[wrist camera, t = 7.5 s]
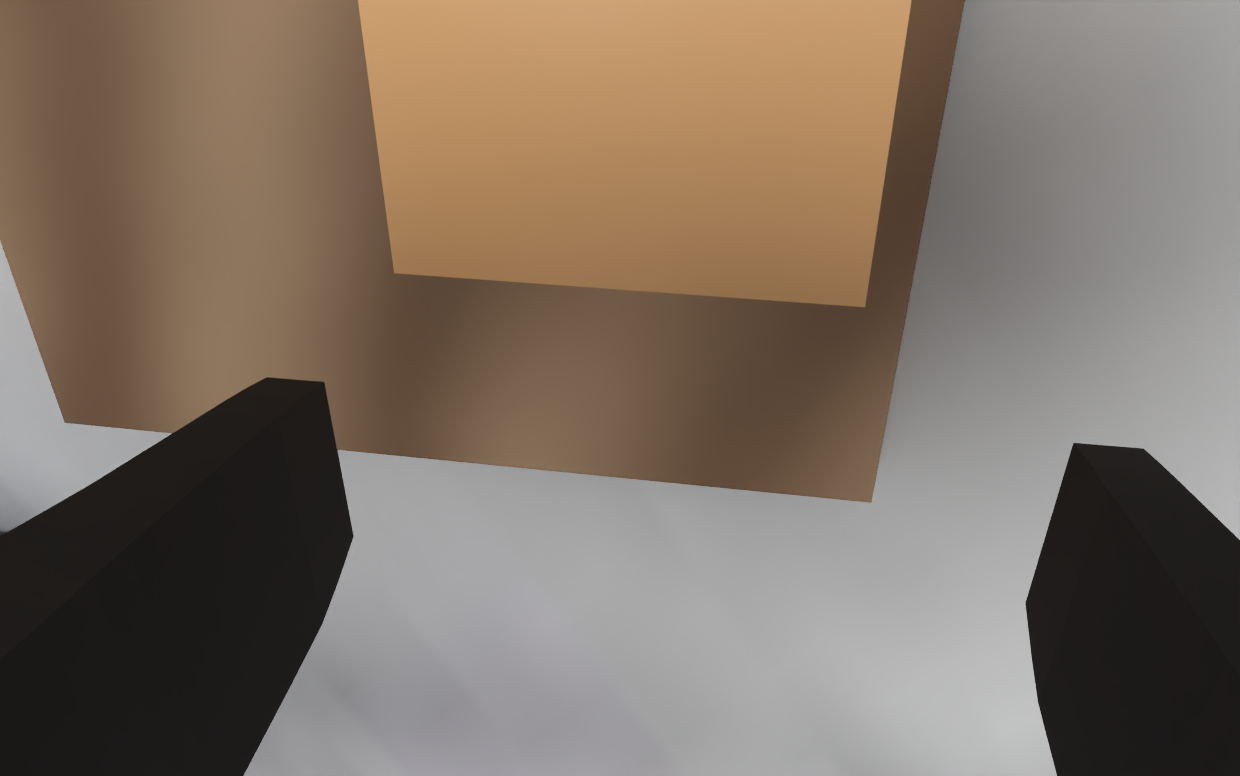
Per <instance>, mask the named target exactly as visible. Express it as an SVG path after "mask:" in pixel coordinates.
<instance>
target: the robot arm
mask: <svg viewBox="0 0 1240 776" xmlns="http://www.w3.org/2000/svg"><path fill="white" fill-rule="evenodd" d="M352 539H353V531H352V526H351V521H350V516H349V510H348V505H347V500H346V494H345V489H344V484H343V478H342V473H341V468H340V462H339V457H338V452H337V447H336V441H335V436H334V431H333V425H332V420H331V415H330V409H329V404H328V399H327V393H326V388H325V383H324V382H320V381H308V380H295V379H283V378H271V377H266V378H264V379H262V380H260V381H259V382H257V383H255V384H253V385H251V386H249V387H247V388H246V389H244V390H242V391H240V392H239V393H237V394H235V395H234V396H232V397H230V398H229V399H227V400H225V401H224V402H222V403H220V404H219V405H217V406H216V407H214V408H212V409H211V410H209V411H207V412H206V413H204V414H203V415H201V416H199V417H198V418H196V419H195V420H193V421H191V422H190V423H188V424H187V425H185V426H184V427H182V428H180V429H179V430H177V431H176V432H174V433H172V434H171V435H169V436H168V437H166V438H165V439H163V440H161V441H160V442H158V443H157V444H155V445H153V446H152V447H150V448H149V449H147V450H145V451H144V452H142V453H140V454H139V455H137V456H136V457H134V458H132V459H131V460H129V461H128V462H126V463H124V464H123V465H121V466H120V467H118V468H116V469H115V470H113V471H112V472H110V473H108V474H107V475H105V476H104V477H102V478H100V479H99V480H97V481H95V482H94V483H92V484H91V485H89V486H87V487H86V488H84V489H82V490H81V491H79V492H77V493H75V494H74V495H72V496H70V497H68V498H67V499H65V500H63V501H61V502H60V503H58V504H56V505H54V506H53V507H51V508H49V509H47V510H46V511H44V512H42V513H40V514H39V515H37V516H35V517H33V518H32V519H30V520H28V521H26V522H25V523H23V524H21V525H19V526H18V527H16V528H14V529H12V530H11V531H9V532H7V533H5V534H4V535H2V536H0V776H243V775H244V773H245V771H246V769H247V768H248V766H249V764H250V762H251V760H252V758H253V756H254V754H255V752H256V750H257V749H258V747H259V745H260V743H261V741H262V739H263V737H264V735H265V733H266V731H267V730H268V728H269V726H270V724H271V722H272V720H273V718H274V716H275V714H276V712H277V711H278V709H279V707H280V705H281V703H282V701H283V699H284V697H285V695H286V693H287V692H288V690H289V688H290V686H291V684H292V682H293V680H294V678H295V676H296V674H297V672H298V670H299V668H300V666H301V664H302V662H303V661H304V659H305V657H306V655H307V653H308V651H309V649H310V647H311V645H312V643H313V641H314V639H315V637H316V635H317V633H318V631H319V629H320V627H321V625H322V623H323V620H324V618H325V615H326V612H327V610H328V607H329V604H330V602H331V599H332V596H333V594H334V591H335V589H336V586H337V583H338V580H339V577H340V574H341V571H342V568H343V566H344V563H345V560H346V557H347V554H348V551H349V548H350V545H351V542H352ZM1026 611H1027V619H1028V628H1029V637H1030V645H1031V654H1032V662H1033V669H1034V676H1035V683H1036V690H1037V697H1038V703H1039V707H1040V711H1041V715H1042V719H1043V723H1044V727H1045V731H1046V735H1047V738H1048V742H1049V746H1050V750H1051V754H1052V757H1053V761H1054V765H1055V769H1056V773H1057V776H1240V540H1239V539H1238V538H1237V537H1236V536H1235V535H1234V534H1233V533H1232V532H1231V531H1230V530H1229V529H1228V528H1226V527H1225V526H1224V525H1223V524H1222V523H1221V522H1220V521H1219V520H1218V519H1217V518H1216V517H1215V516H1214V515H1213V514H1212V513H1211V512H1210V511H1209V510H1208V509H1207V508H1206V507H1205V506H1204V505H1203V504H1202V503H1201V502H1200V501H1199V500H1198V499H1197V498H1196V497H1195V496H1193V495H1192V494H1191V493H1190V492H1189V491H1188V490H1187V489H1186V488H1185V487H1184V486H1183V485H1182V484H1181V483H1180V482H1179V481H1178V480H1177V479H1176V478H1175V477H1174V476H1173V475H1172V474H1171V473H1170V472H1169V471H1167V470H1166V469H1165V468H1164V467H1163V466H1162V465H1161V464H1160V463H1159V462H1158V461H1157V460H1155V459H1154V458H1153V457H1152V456H1151V455H1150V454H1149V453H1148V452H1146V451H1145V450H1144V449H1140V448H1128V447H1116V446H1103V445H1091V444H1079V443H1073V447H1072V450H1071V453H1070V457H1069V460H1068V463H1067V467H1066V470H1065V473H1064V477H1063V480H1062V483H1061V487H1060V490H1059V493H1058V497H1057V500H1056V503H1055V507H1054V510H1053V513H1052V517H1051V520H1050V523H1049V527H1048V530H1047V533H1046V537H1045V540H1044V544H1043V547H1042V550H1041V554H1040V557H1039V560H1038V564H1037V567H1036V570H1035V574H1034V577H1033V580H1032V584H1031V587H1030V590H1029V594H1028V597H1027V600H1026Z"/></svg>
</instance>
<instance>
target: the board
mask: <svg viewBox="0 0 1240 776" xmlns="http://www.w3.org/2000/svg"><path fill="white" fill-rule="evenodd" d="M964 1H965V0H912V1H911V7H910V14H909V21H908V27H907V34H906V40H905V47H904V53H903V60H902V67H901V73H900V80H899V86H898V93H897V100H896V106H895V113H894V119H893V126H892V133H891V139H890V146H889V152H888V159H887V166H886V172H885V179H884V185H883V192H882V199H881V205H880V212H879V218H878V225H877V232H876V238H875V245H874V251H873V258H872V265H871V271H870V278H869V284H868V291H867V298H866V304H865V307H855V306H841V305H827V304H813V303H799V302H786V301H772V300H758V299H744V298H730V297H716V296H702V295H688V294H675V293H661V292H647V291H633V290H619V289H605V288H591V287H578V286H564V285H550V284H536V283H522V282H508V281H494V280H481V279H467V278H453V277H439V276H425V275H411V274H397V273H394V269H393V261H392V253H391V246H390V238H389V231H388V223H387V216H386V208H385V201H384V193H383V186H382V178H381V171H380V163H379V156H378V148H377V140H376V133H375V125H374V118H373V110H372V103H371V95H370V88H369V80H368V73H367V65H366V58H365V50H364V43H363V35H362V28H361V20H360V12H359V5H358V0H0V241H1V243H2V246H3V249H4V252H5V255H6V258H7V260H8V263H9V266H10V269H11V272H12V275H13V277H14V280H15V283H16V286H17V289H18V292H19V294H20V297H21V300H22V303H23V306H24V308H25V311H26V314H27V317H28V320H29V323H30V325H31V328H32V331H33V334H34V337H35V340H36V342H37V345H38V348H39V351H40V354H41V357H42V359H43V362H44V365H45V368H46V371H47V373H48V376H49V379H50V382H51V385H52V388H53V390H54V393H55V396H56V399H57V402H58V405H59V407H60V410H61V413H62V416H63V419H64V422H65V423H75V424H85V425H95V426H105V427H115V428H125V429H135V430H145V431H155V432H165V433H174V432H176V431H177V430H179V429H180V428H182V427H184V426H185V425H187V424H188V423H190V422H191V421H193V420H195V419H196V418H198V417H199V416H201V415H203V414H204V413H206V412H207V411H209V410H211V409H212V408H214V407H216V406H217V405H219V404H220V403H222V402H224V401H225V400H227V399H229V398H230V397H232V396H234V395H235V394H237V393H239V392H240V391H242V390H244V389H246V388H247V387H249V386H251V385H253V384H255V383H257V382H259V381H260V380H262V379H264V378H266V377H271V378H283V379H295V380H308V381H320V382H324V383H325V388H326V393H327V399H328V404H329V409H330V415H331V420H332V425H333V431H334V436H335V441H336V447H337V450H347V451H357V452H367V453H377V454H387V455H397V456H407V457H418V458H428V459H438V460H448V461H458V462H468V463H478V464H488V465H498V466H508V467H518V468H528V469H539V470H549V471H559V472H569V473H579V474H589V475H599V476H609V477H619V478H629V479H639V480H649V481H660V482H670V483H680V484H690V485H700V486H710V487H720V488H730V489H740V490H750V491H760V492H770V493H781V494H791V495H801V496H811V497H821V498H831V499H841V500H851V501H861V502H871V501H872V495H873V490H874V484H875V479H876V474H877V468H878V463H879V458H880V452H881V447H882V441H883V436H884V431H885V425H886V420H887V415H888V409H889V404H890V398H891V393H892V388H893V382H894V377H895V372H896V366H897V361H898V355H899V350H900V345H901V339H902V334H903V329H904V323H905V318H906V312H907V307H908V302H909V296H910V291H911V286H912V280H913V275H914V269H915V264H916V259H917V253H918V248H919V243H920V237H921V232H922V226H923V221H924V216H925V210H926V205H927V200H928V194H929V189H930V183H931V178H932V173H933V167H934V162H935V157H936V151H937V146H938V140H939V135H940V130H941V124H942V119H943V114H944V108H945V103H946V97H947V92H948V87H949V81H950V76H951V71H952V65H953V60H954V54H955V49H956V44H957V38H958V33H959V28H960V22H961V17H962V11H963V6H964Z"/></svg>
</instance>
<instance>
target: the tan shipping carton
mask: <svg viewBox="0 0 1240 776" xmlns="http://www.w3.org/2000/svg"><path fill="white" fill-rule="evenodd" d="M911 1H912V0H358V5H359V12H360V20H361V28H362V35H363V43H364V50H365V58H366V65H367V73H368V80H369V88H370V95H371V103H372V110H373V118H374V125H375V133H376V140H377V148H378V156H379V163H380V171H381V178H382V186H383V193H384V201H385V208H386V216H387V223H388V231H389V238H390V246H391V253H392V261H393V269H394V273H397V274H411V275H425V276H439V277H453V278H467V279H481V280H494V281H508V282H522V283H536V284H550V285H564V286H578V287H591V288H605V289H619V290H633V291H647V292H661V293H675V294H688V295H702V296H716V297H730V298H744V299H758V300H772V301H786V302H799V303H813V304H827V305H841V306H855V307H865V304H866V298H867V291H868V284H869V278H870V271H871V265H872V258H873V251H874V245H875V238H876V232H877V225H878V218H879V212H880V205H881V199H882V192H883V185H884V179H885V172H886V166H887V159H888V152H889V146H890V139H891V133H892V126H893V119H894V113H895V106H896V100H897V93H898V86H899V80H900V73H901V67H902V60H903V53H904V47H905V40H906V34H907V27H908V21H909V14H910V7H911Z"/></svg>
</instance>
